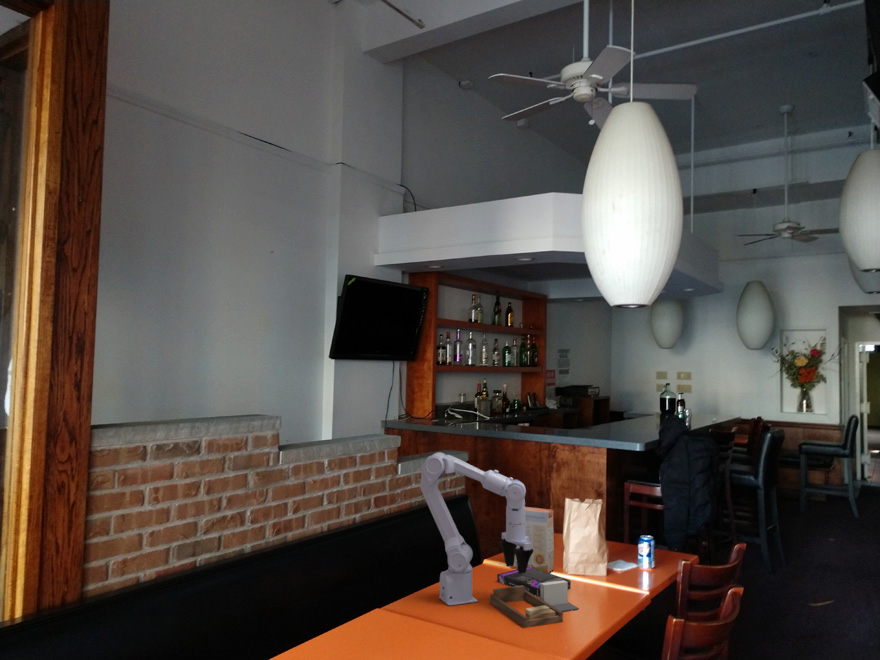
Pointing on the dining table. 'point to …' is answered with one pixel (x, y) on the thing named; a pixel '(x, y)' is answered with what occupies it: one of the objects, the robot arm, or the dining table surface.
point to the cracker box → (539, 538)
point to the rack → (518, 594)
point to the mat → (565, 607)
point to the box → (529, 579)
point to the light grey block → (554, 592)
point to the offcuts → (538, 612)
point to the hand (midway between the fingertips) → (515, 569)
